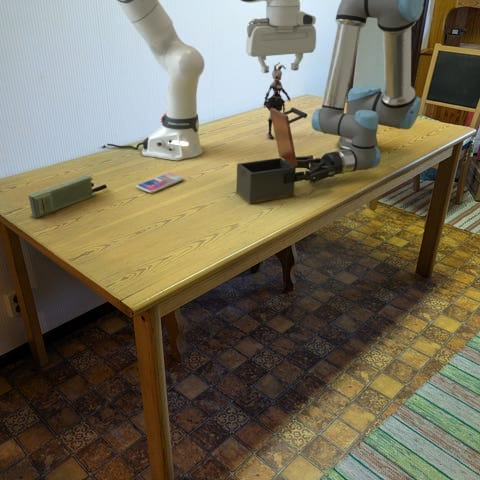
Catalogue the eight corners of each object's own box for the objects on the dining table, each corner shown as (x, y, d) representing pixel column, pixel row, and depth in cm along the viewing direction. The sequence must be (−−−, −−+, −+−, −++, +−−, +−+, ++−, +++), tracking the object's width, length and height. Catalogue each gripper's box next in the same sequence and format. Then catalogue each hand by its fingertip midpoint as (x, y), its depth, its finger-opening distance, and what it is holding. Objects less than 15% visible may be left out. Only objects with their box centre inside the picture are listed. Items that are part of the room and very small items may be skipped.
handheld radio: (30, 215, 144) (102, 188, 161) (37, 219, 142) (109, 191, 159) (26, 193, 140) (100, 168, 157) (33, 197, 138) (107, 171, 155)
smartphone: (184, 177, 167) (150, 191, 157) (184, 180, 167) (151, 194, 157) (168, 171, 171) (134, 185, 161) (168, 174, 171) (135, 188, 161)
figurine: (266, 142, 202) (269, 63, 187) (256, 138, 206) (258, 61, 191) (291, 134, 211) (296, 59, 196) (280, 131, 215) (284, 57, 200)
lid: (285, 116, 143) (307, 106, 145) (269, 108, 151) (291, 99, 152) (294, 166, 153) (316, 156, 155) (279, 156, 160) (299, 147, 162)
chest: (249, 203, 151) (251, 174, 147) (236, 192, 159) (237, 163, 154) (293, 196, 158) (296, 167, 153) (278, 185, 165) (280, 157, 160)
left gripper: (252, 20, 128) (251, 76, 135) (321, 17, 136) (316, 70, 143) (242, 17, 133) (241, 72, 140) (308, 15, 141) (304, 66, 148)
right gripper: (356, 185, 158) (294, 198, 150) (317, 162, 176) (260, 172, 167) (359, 163, 155) (295, 174, 146) (319, 141, 172) (261, 150, 164)
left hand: (280, 71), depth 141 cm, fingers open, 8 cm apart
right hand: (276, 173), depth 157 cm, fingers closed on chest, 9 cm apart
